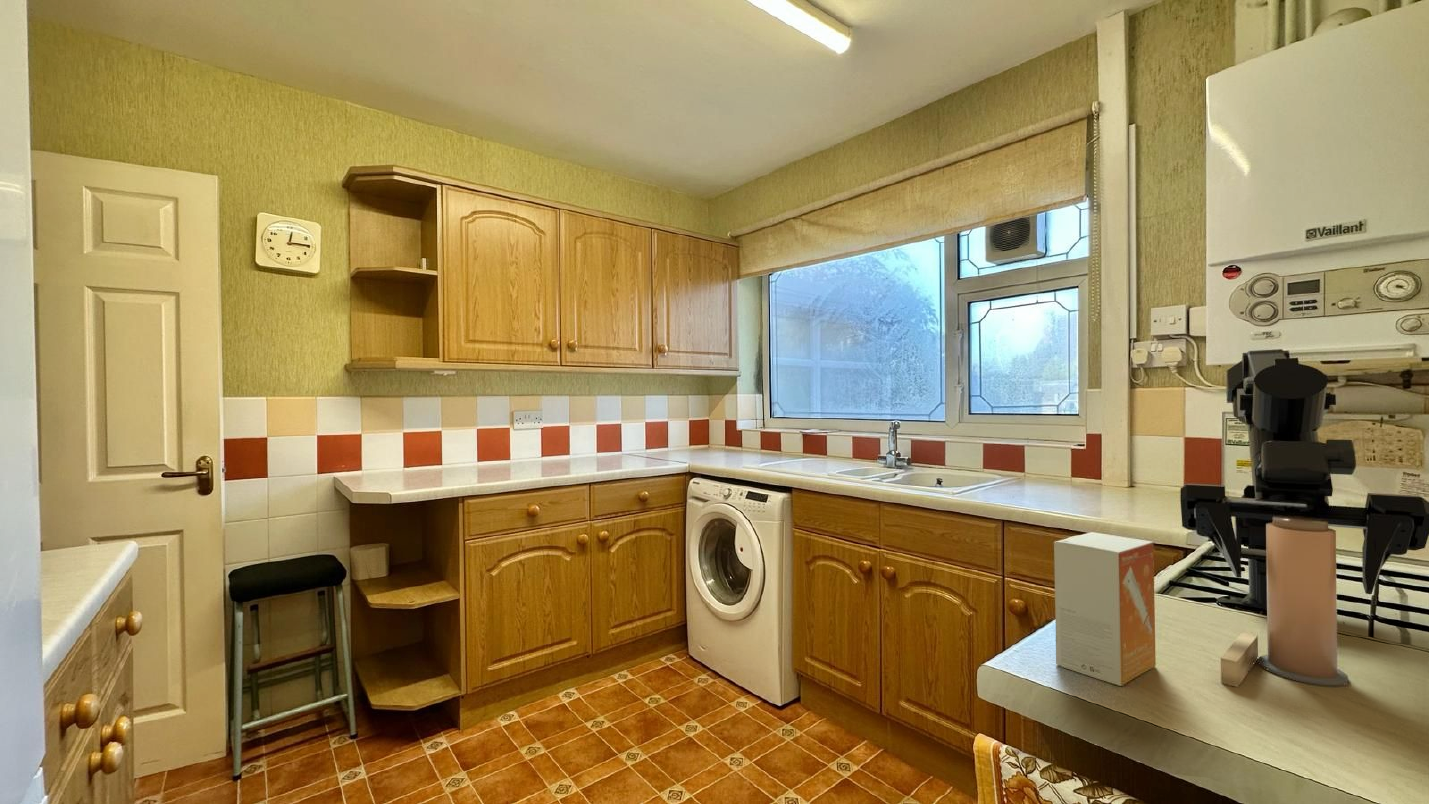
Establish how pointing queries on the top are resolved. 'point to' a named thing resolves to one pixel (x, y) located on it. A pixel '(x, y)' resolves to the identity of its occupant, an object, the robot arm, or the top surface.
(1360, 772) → the top surface
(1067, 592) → the small box
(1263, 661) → the coaster
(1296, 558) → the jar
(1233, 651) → the block
